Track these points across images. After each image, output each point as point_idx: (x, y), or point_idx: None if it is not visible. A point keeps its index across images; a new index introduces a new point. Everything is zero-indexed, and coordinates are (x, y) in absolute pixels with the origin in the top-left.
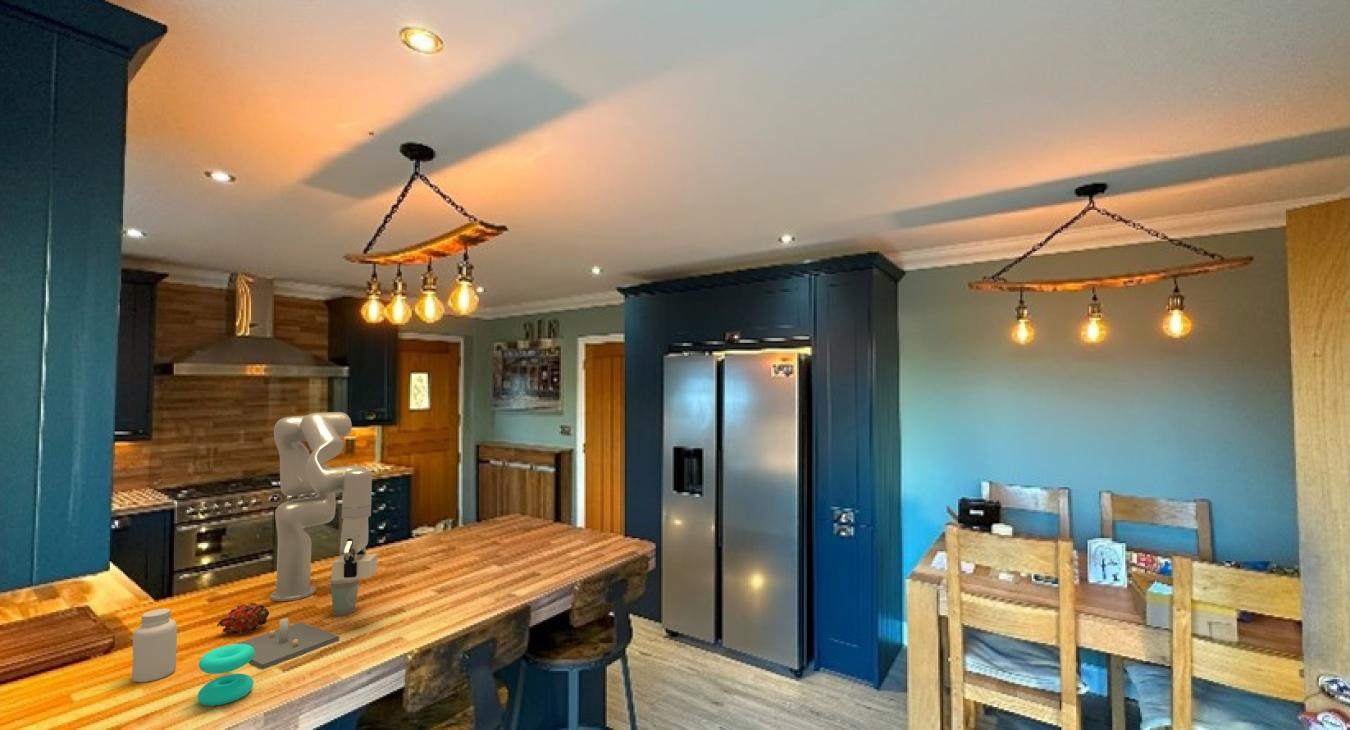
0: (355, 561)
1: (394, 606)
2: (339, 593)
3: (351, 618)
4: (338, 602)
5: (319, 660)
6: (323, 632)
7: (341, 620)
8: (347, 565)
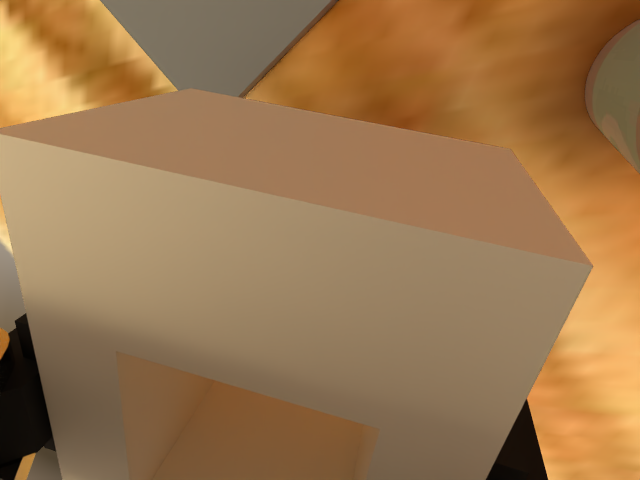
0: (27, 459)
1: (579, 330)
2: (636, 71)
3: (500, 140)
4: (619, 59)
5: (45, 79)
6: (270, 37)
7: (494, 89)
8: (13, 347)
